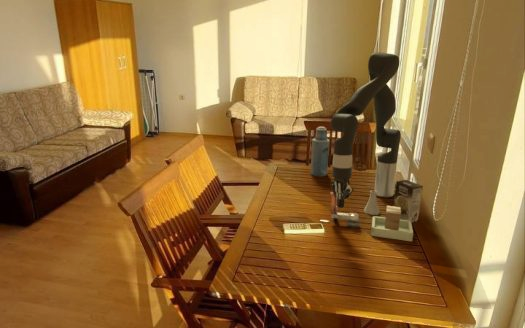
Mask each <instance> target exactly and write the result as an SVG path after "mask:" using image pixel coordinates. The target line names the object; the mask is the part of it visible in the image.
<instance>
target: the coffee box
mask: <svg viewBox="0 0 525 328" xmlns="http://www.w3.org/2000/svg"><path fill="white" fill-rule="evenodd" d="M423 188H424V186H423V185H421V184H418V183H417V182H413V181H410V180H408V179H402V180H396V181H395V188H394V199H393V206H394V207H400V208H401V214H400V220H408V221H411V223H414V221H415V222H418V221H417V220H419V213H420V208H421V203H422V202H421V199H422V195H423Z"/></svg>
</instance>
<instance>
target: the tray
mask: <svg viewBox="0 0 525 328" xmlns="http://www.w3.org/2000/svg"><path fill="white" fill-rule="evenodd" d="M385 219H386V216H385V217H384V216H378V215H372V218H371V220H372V221H371V232H370V236H372V237H379V238H385V239H392V240H399V241H400V240H401V241H407V242H413V238H414V230H413V225H412V222H411V221H408V220H400V222H399V230H392V229H385Z"/></svg>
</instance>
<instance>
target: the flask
mask: <svg viewBox="0 0 525 328" xmlns="http://www.w3.org/2000/svg"><path fill="white" fill-rule="evenodd" d="M369 193H370V194H369V199H368V201H367V203H366V205H365V207H364V209H363V212H364V213H365V214H366V215H371V216H379V215H380V213H381V211H380V207H379V204H378V199H377V195H376V194H377V191H374V190H370V191H369Z"/></svg>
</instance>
